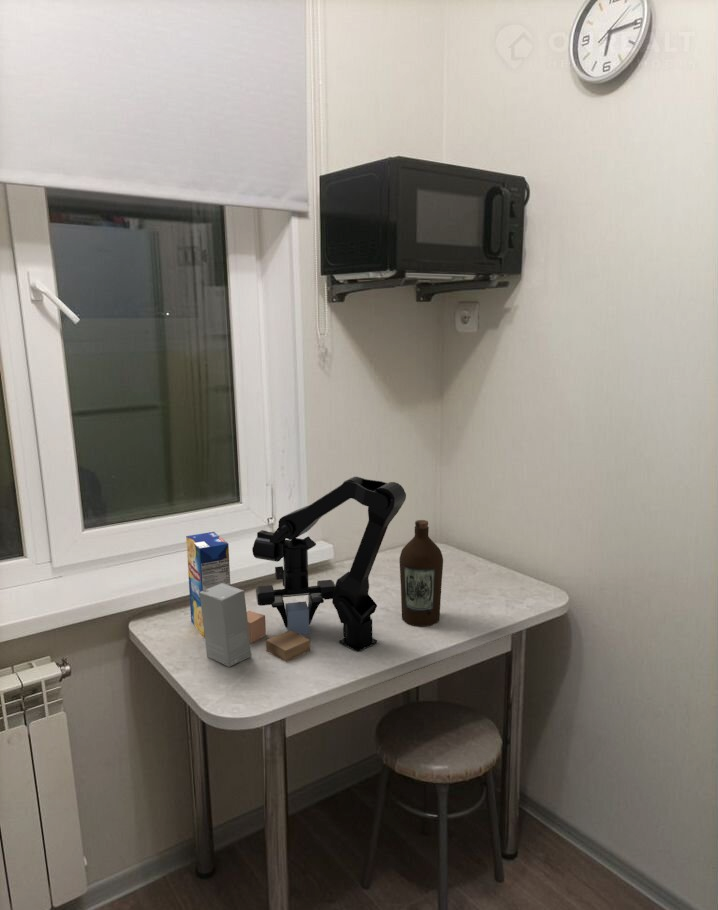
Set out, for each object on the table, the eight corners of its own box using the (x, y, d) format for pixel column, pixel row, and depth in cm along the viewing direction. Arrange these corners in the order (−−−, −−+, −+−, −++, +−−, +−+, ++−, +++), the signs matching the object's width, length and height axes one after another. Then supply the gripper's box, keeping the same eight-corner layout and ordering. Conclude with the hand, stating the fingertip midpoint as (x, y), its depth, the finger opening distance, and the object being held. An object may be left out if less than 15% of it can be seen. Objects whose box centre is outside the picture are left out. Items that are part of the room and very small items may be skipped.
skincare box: (252, 657, 150) (249, 589, 147) (225, 669, 145) (222, 599, 142) (228, 645, 156) (225, 580, 153) (202, 657, 151) (198, 589, 148)
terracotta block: (265, 635, 161) (265, 615, 161) (251, 643, 157) (250, 623, 156) (249, 630, 164) (248, 610, 163) (235, 638, 160) (234, 618, 159)
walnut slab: (310, 652, 153) (310, 640, 153) (285, 663, 149) (285, 650, 148) (290, 642, 158) (290, 630, 158) (266, 652, 154) (265, 640, 153)
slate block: (306, 624, 167) (305, 601, 166) (309, 633, 162) (308, 609, 161) (285, 626, 166) (285, 603, 164) (288, 635, 161) (287, 611, 160)
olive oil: (402, 608, 176) (402, 514, 171) (443, 611, 174) (445, 516, 169) (396, 626, 165) (396, 526, 161) (440, 629, 163) (441, 529, 158)
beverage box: (204, 638, 160) (199, 548, 155) (191, 621, 169) (186, 535, 165) (232, 631, 163) (228, 543, 159) (217, 615, 172) (213, 531, 168)
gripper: (328, 549, 170) (329, 608, 173) (253, 556, 166) (255, 616, 169) (337, 565, 160) (338, 627, 163) (256, 572, 156) (259, 635, 159)
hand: (297, 625), depth 164 cm, fingers closed on slate block, 5 cm apart
